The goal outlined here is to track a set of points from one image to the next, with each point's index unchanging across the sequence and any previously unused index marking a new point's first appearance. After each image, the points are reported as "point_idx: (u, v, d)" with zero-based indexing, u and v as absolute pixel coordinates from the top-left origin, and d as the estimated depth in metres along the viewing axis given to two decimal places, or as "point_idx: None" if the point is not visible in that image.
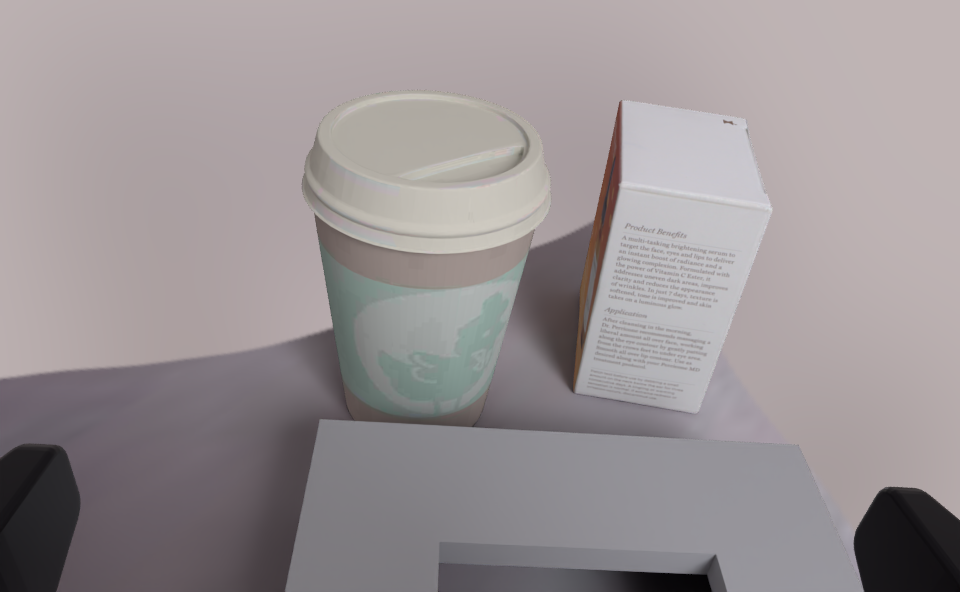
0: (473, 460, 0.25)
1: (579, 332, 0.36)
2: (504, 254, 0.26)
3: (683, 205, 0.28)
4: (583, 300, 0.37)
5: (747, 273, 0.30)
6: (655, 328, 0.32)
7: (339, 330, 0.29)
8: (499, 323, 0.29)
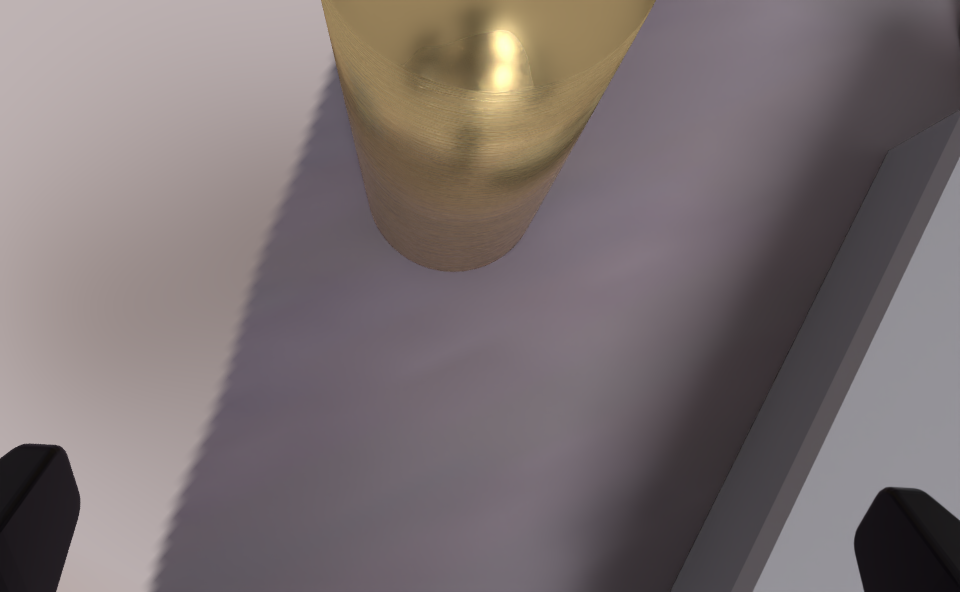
0: None
1: None
2: None
3: None
4: None
5: None
6: None
7: None
8: None
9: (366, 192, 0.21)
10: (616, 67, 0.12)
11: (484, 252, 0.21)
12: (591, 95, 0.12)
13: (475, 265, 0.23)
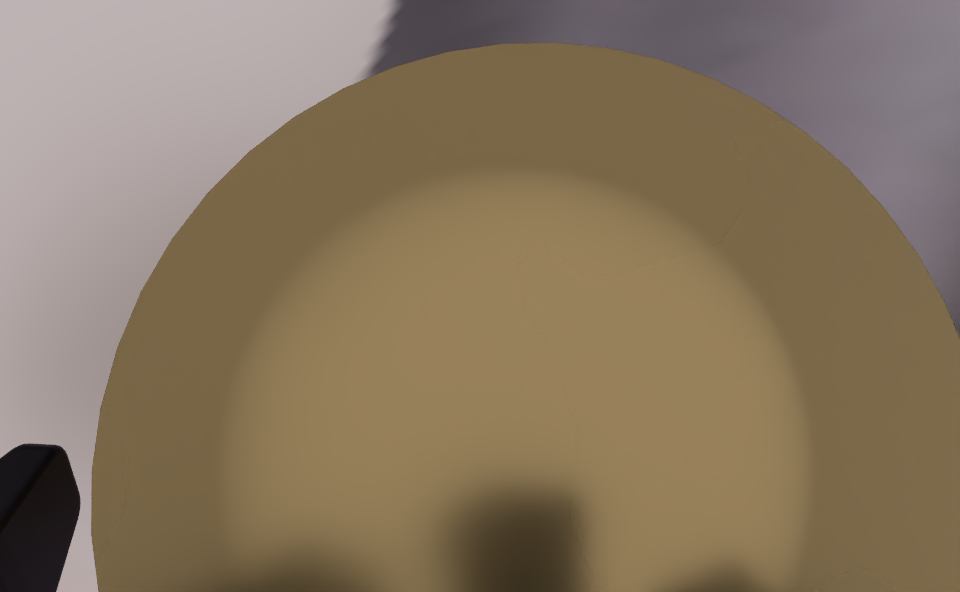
0: None
1: None
2: None
3: None
4: None
5: None
6: None
7: None
8: None
9: None
10: None
11: None
12: None
13: None
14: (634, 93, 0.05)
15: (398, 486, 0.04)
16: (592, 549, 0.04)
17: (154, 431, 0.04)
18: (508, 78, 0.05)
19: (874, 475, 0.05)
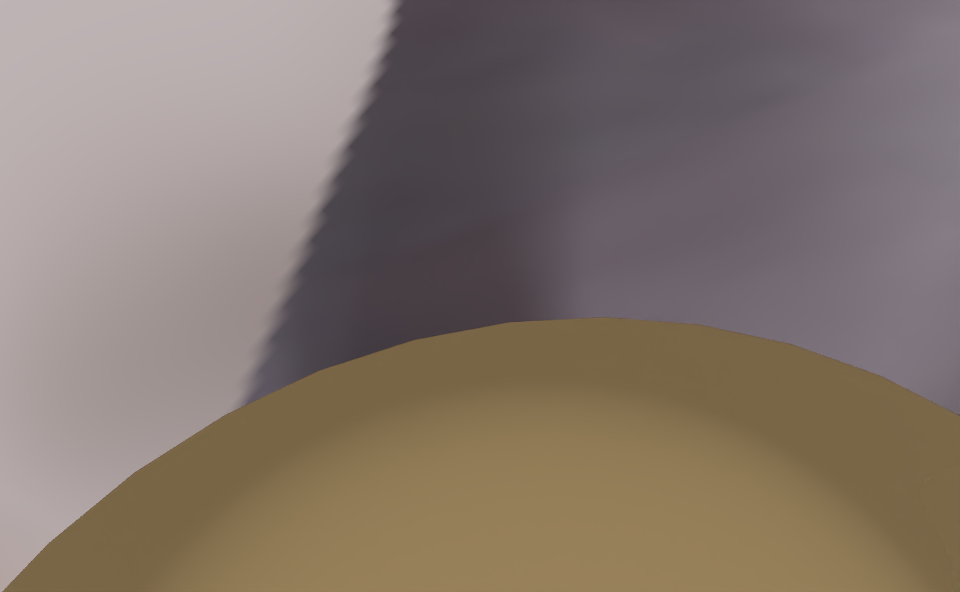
0: None
1: None
2: None
3: None
4: None
5: None
6: None
7: None
8: None
9: None
10: None
11: None
12: None
13: None
14: (746, 411, 0.03)
15: None
16: None
17: None
18: (522, 386, 0.03)
19: None
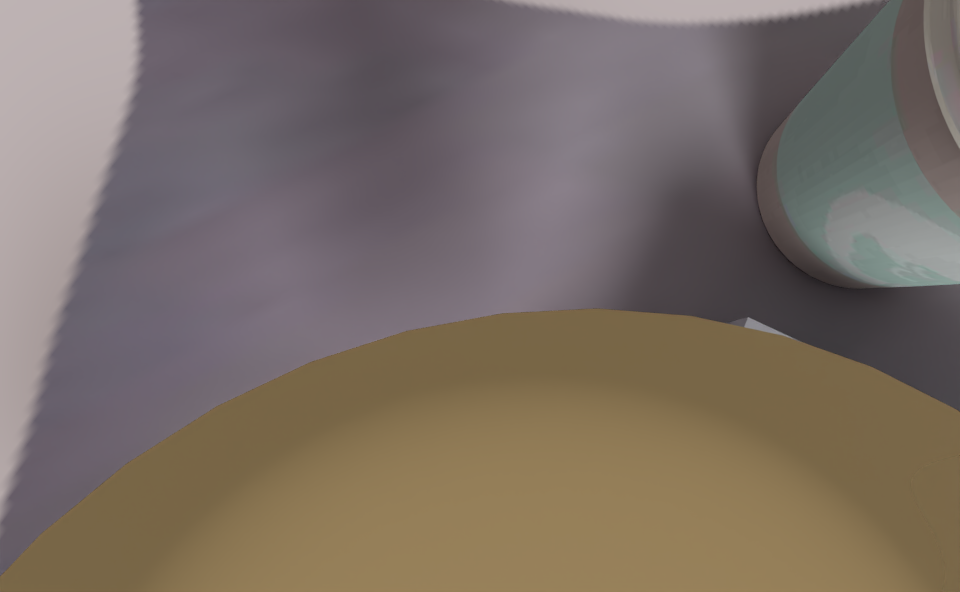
0: None
1: None
2: None
3: None
4: None
5: None
6: None
7: (822, 158, 0.19)
8: None
9: None
10: None
11: None
12: None
13: None
14: (736, 399, 0.03)
15: None
16: None
17: None
18: (515, 376, 0.03)
19: None
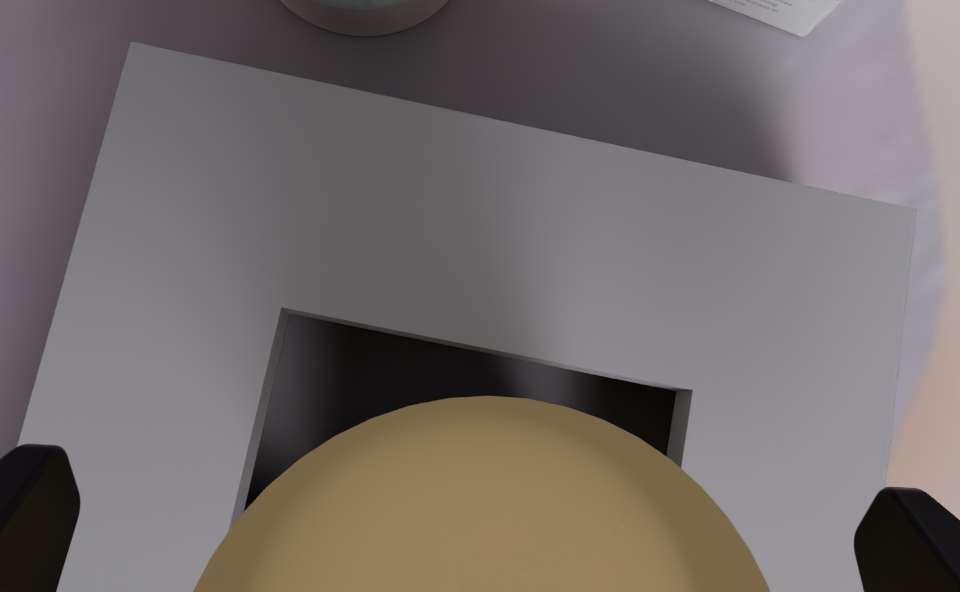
0: (367, 163, 0.16)
1: None
2: None
3: None
4: None
5: None
6: None
7: None
8: None
9: None
10: None
11: None
12: None
13: None
14: (545, 434, 0.07)
15: None
16: None
17: None
18: (454, 425, 0.07)
19: None
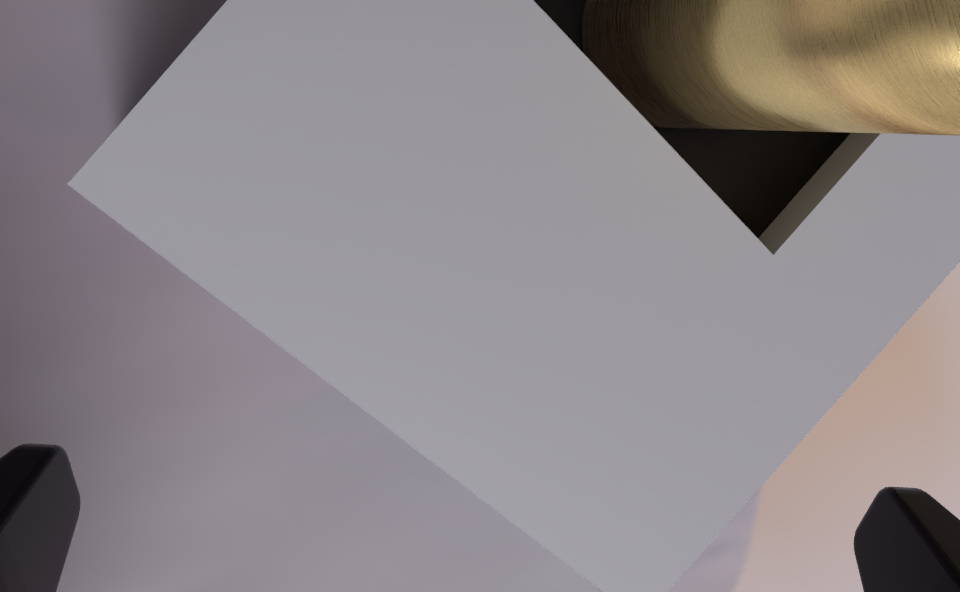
0: None
1: None
2: None
3: None
4: None
5: None
6: None
7: None
8: None
9: None
10: None
11: (682, 125, 0.19)
12: None
13: None
14: None
15: None
16: None
17: None
18: None
19: None
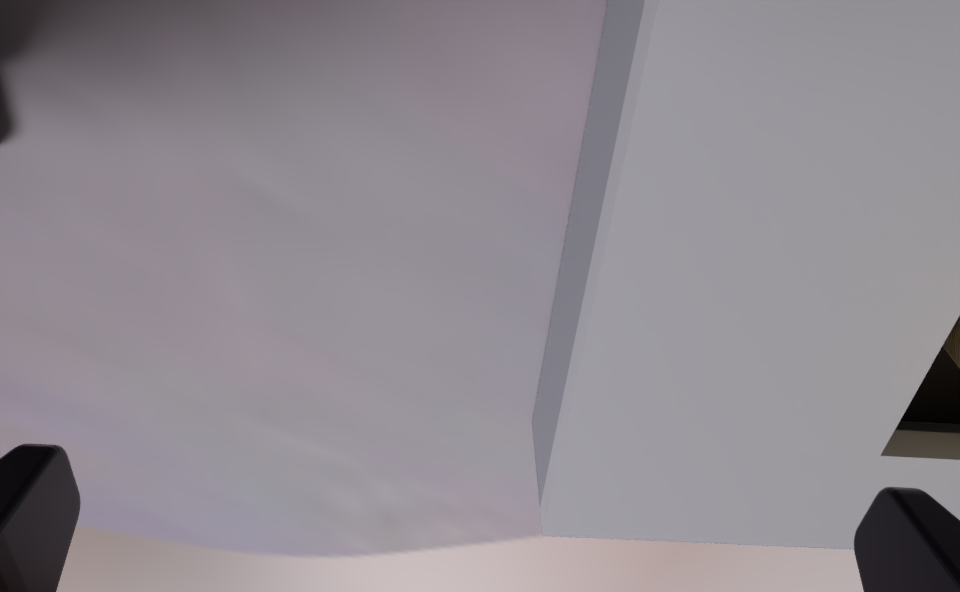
0: None
1: None
2: None
3: None
4: None
5: None
6: None
7: None
8: None
9: None
10: None
11: None
12: None
13: None
14: None
15: None
16: None
17: None
18: None
19: None
